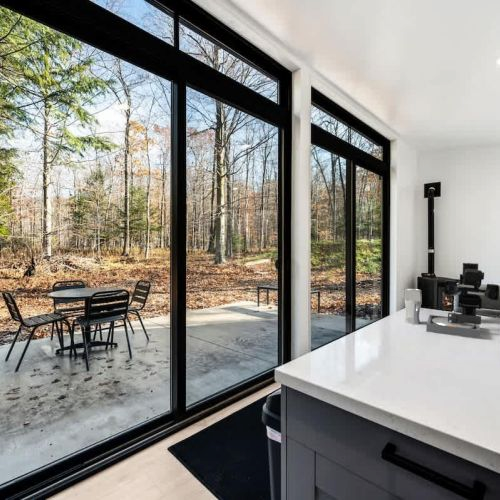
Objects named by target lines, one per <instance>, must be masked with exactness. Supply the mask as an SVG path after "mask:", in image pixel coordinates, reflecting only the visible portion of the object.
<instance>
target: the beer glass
mask: <svg viewBox="0 0 500 500" xmlns="http://www.w3.org/2000/svg"><path fill="white" fill-rule="evenodd" d="M403 298H404V307H405V315H406V316H405V323H407V324H412V325H420V324H421V321H420V312H421V306H422V299H423V298H422V290H421V289H418V288H404V297H403Z"/></svg>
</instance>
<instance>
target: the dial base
mask: <svg viewBox="0 0 500 500" xmlns="http://www.w3.org/2000/svg"><path fill="white" fill-rule="evenodd" d="M440 317H443V318H448V316H443V315H435V314H434V315H433V314H429V315H428V318H427V321H426V325H425V326H426V332H427V333H435V334H443V335H450V336H457V337H464V338H472V339H477V340H478V339H479V340H481V332H482V331H481V327H480V324H475V329H470V328H462V327H456V326H451V325H449V326H447V325H439V324H432V319H433V318H440Z"/></svg>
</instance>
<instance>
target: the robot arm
mask: <svg viewBox="0 0 500 500" xmlns="http://www.w3.org/2000/svg"><path fill="white" fill-rule="evenodd" d="M484 279H485V272H482V270H481V269H479V263H476V262H475V263H473V262H462V273H460V274H459V281H458V282H457V280H451V279H446V280H444V289H443V291H444V295H446V296H453V297H454V296H458V299H457V302H458V304H457V307H458V308H461V309H460V310H461V313H460V314H465V315H474V316H477V310H482V309H483V308H482V307H483V298H482V297H481V296H484V298H485V300H487V301H488V300H489V301H498V300H499V299H500V286H499V285H498V284H493V283H486V289H483V288H482V289H481V288H480V287H482V281H484Z"/></svg>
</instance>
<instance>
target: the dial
mask: <svg viewBox="0 0 500 500" xmlns="http://www.w3.org/2000/svg"><path fill="white" fill-rule="evenodd" d="M447 317H448V318H443V317H440V318H433V319H432V324H439V325H447V326H449V325H451V326H456V327H462V328H470V329H475V324H479V325H482V316H481V315H476V316H474V315H465V314H461V313H456V312H447Z"/></svg>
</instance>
